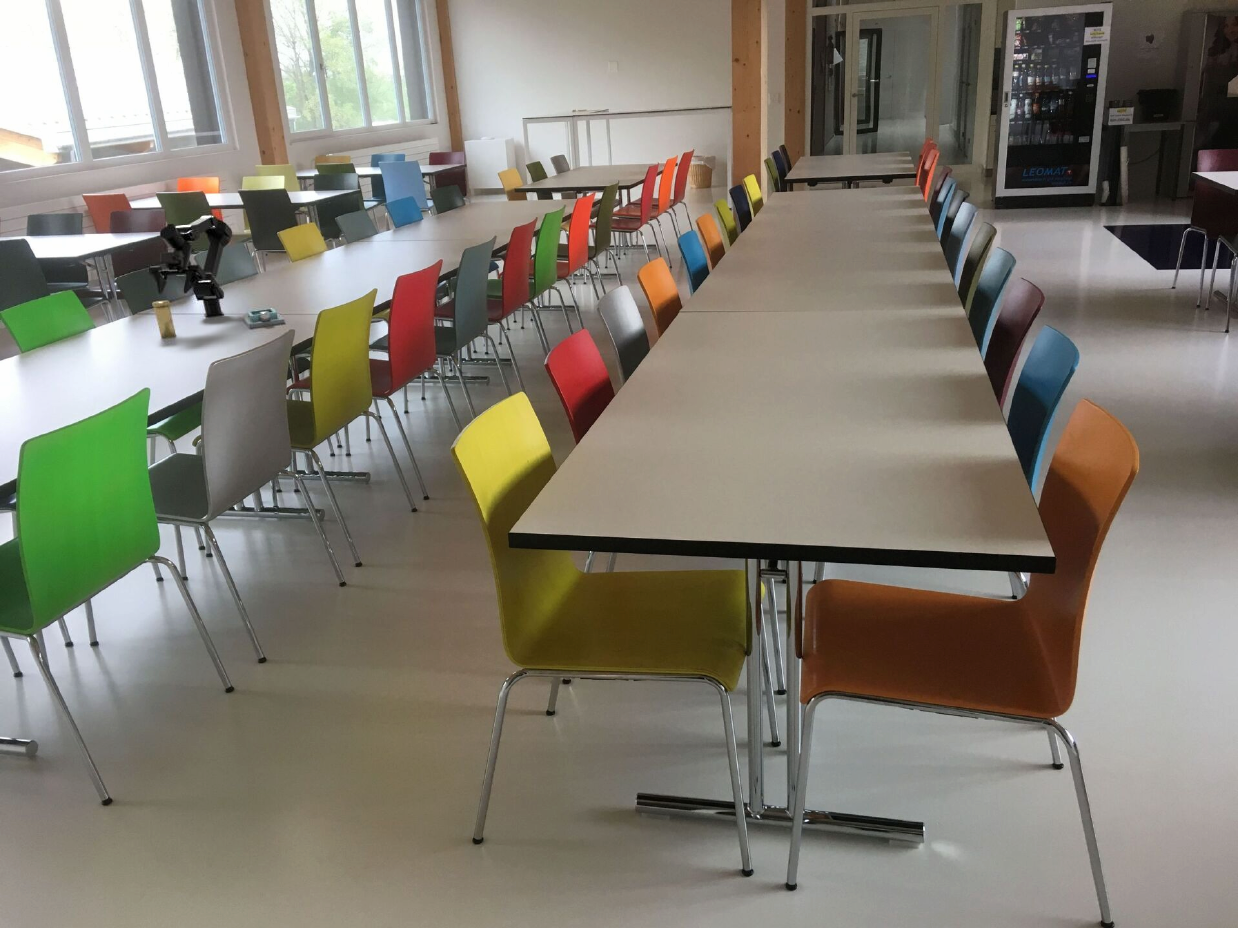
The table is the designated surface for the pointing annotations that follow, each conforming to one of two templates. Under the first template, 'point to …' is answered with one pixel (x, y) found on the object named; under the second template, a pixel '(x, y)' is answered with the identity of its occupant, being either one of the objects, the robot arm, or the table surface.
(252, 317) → the manifold board
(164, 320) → the brass fitting
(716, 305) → the table surface
